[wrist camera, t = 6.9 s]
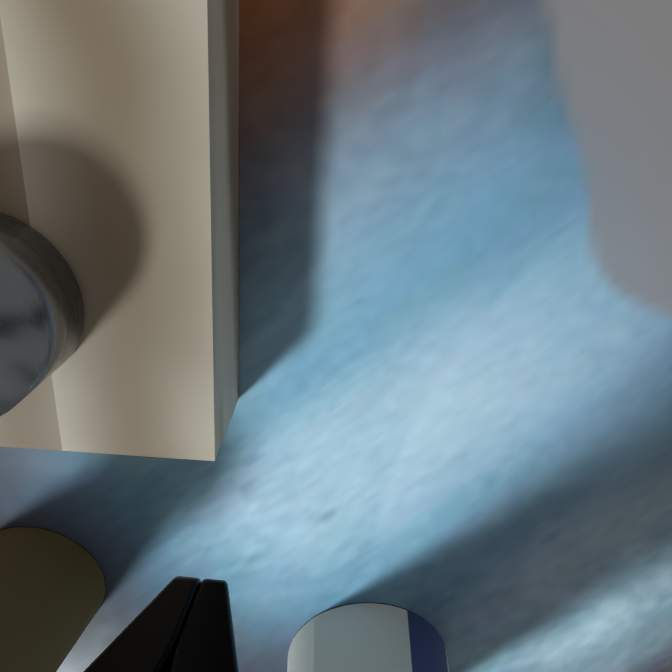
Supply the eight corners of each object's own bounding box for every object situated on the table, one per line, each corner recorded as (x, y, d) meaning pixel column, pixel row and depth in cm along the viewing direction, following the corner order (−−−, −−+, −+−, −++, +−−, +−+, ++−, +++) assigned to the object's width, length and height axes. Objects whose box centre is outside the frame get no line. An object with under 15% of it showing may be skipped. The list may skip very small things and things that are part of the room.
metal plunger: (127, 194, 18) (20, 235, 12) (138, 337, 19) (49, 432, 14) (-28, 183, 18) (-213, 218, 12) (-2, 327, 19) (-151, 419, 14)
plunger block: (239, -320, 13) (198, -488, 10) (238, 399, 21) (214, 461, 17) (-258, -363, 13) (-494, -549, 9) (-77, 377, 21) (-169, 434, 17)
